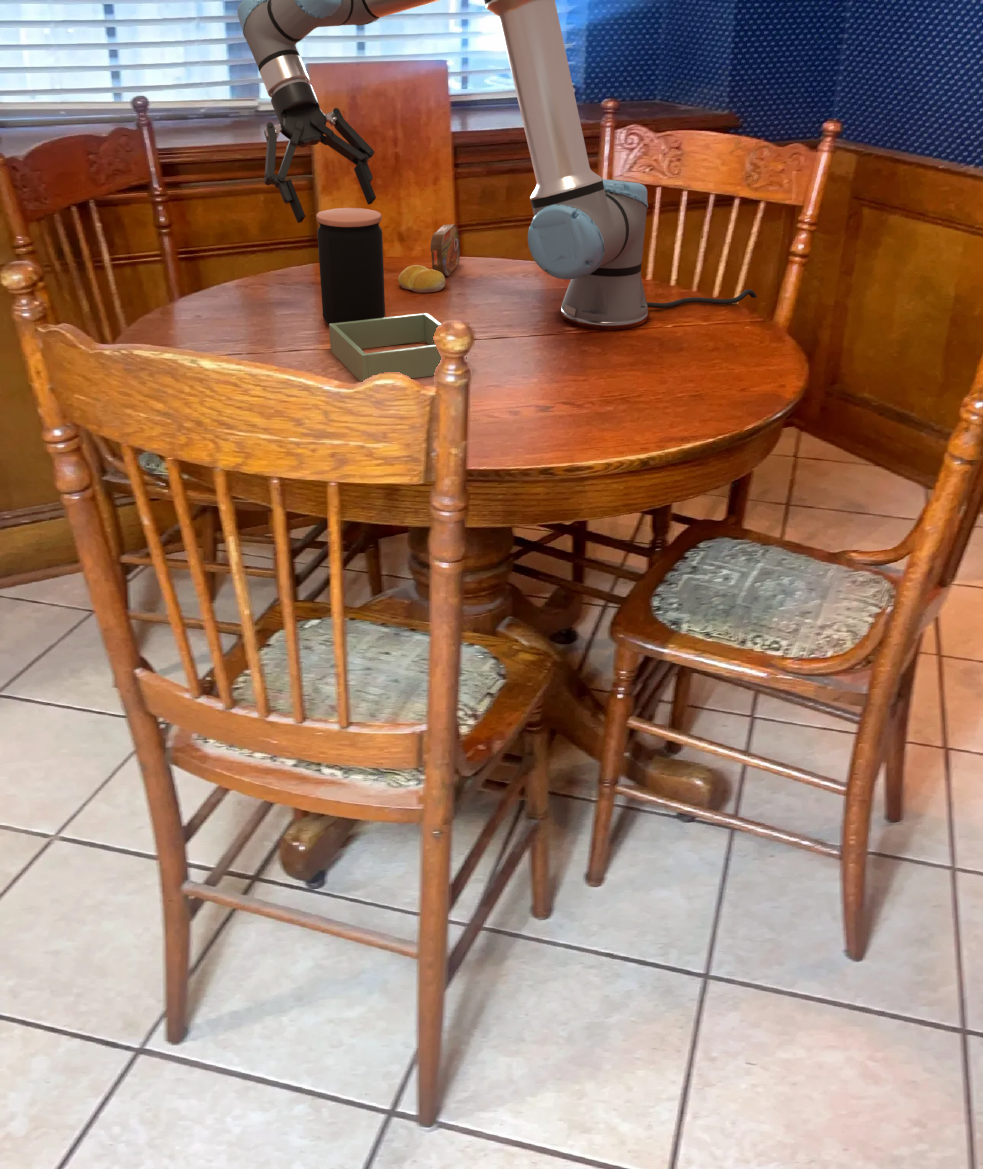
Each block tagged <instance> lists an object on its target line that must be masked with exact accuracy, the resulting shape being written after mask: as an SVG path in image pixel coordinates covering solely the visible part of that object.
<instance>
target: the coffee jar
mask: <svg viewBox="0 0 983 1169" xmlns="http://www.w3.org/2000/svg"><path fill="white" fill-rule="evenodd" d="M315 217H316V221H317V223H318V224H319V227H318V228H317V231H316V234H317V235H316V236H317V246H318V248H317V249H318V262H319V277H320V278H319V279H320V293H321V294H320V295H321V310H322V317H323V321H324V322H325V323H326V324H327V326H328V327H329V324H332V323H341V322H350V321H359V320H368V319H377V318H386V299H385V272H384V245H383V244H384V243H383V242H384V241H383V240H384V239H383V230H382V228H381V226H380V222H381V221H382V217H383V216H382V214H381V212H379V211H377V210H374V209H368V208H361V207H338V208H329V209H324V210H321V211H318V212H317V213H316V215H315Z"/></svg>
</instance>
